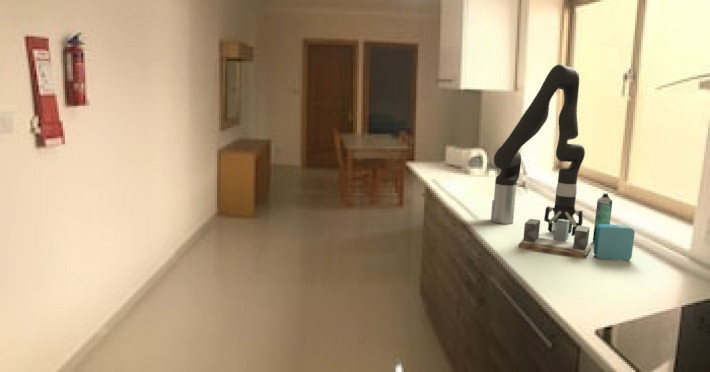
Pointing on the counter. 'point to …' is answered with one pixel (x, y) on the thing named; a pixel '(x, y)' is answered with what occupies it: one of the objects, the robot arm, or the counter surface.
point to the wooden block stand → (555, 241)
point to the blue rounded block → (614, 242)
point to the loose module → (561, 230)
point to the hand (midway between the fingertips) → (561, 233)
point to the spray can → (602, 212)
